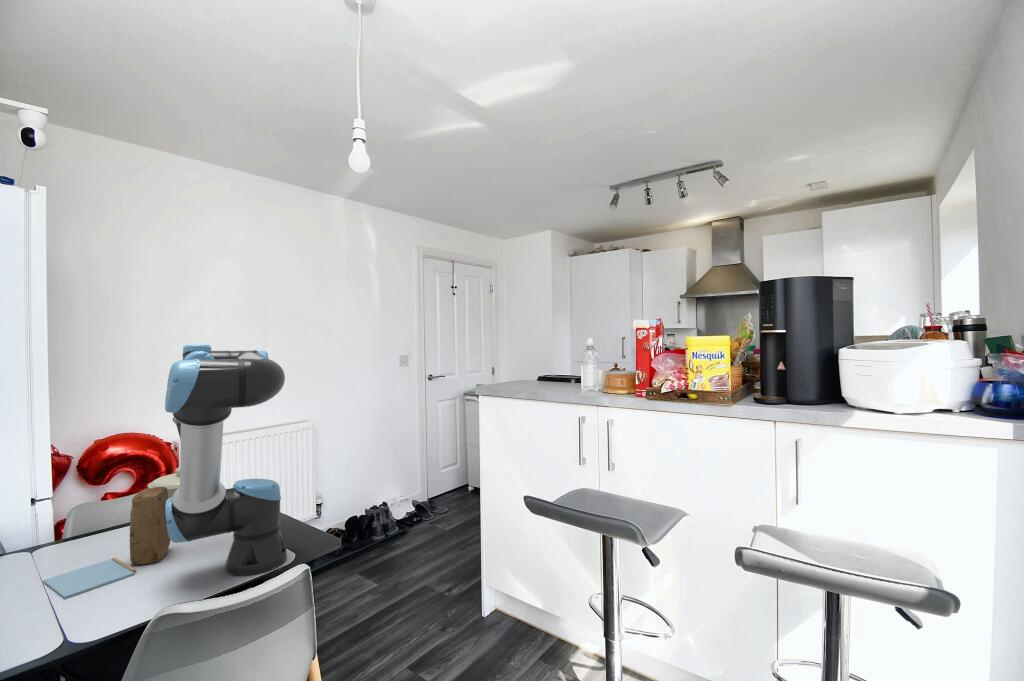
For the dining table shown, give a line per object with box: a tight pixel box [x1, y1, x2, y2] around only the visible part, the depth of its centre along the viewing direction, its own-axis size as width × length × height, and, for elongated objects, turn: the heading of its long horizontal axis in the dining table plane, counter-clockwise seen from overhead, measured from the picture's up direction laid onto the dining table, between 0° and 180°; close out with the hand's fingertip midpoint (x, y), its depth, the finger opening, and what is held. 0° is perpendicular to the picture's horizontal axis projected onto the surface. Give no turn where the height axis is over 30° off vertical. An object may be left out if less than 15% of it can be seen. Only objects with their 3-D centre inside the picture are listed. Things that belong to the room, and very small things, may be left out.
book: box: [42, 557, 137, 600], centre depth 124 cm, size 16×15×1 cm
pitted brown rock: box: [129, 487, 171, 566], centre depth 136 cm, size 11×8×20 cm
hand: (196, 468), depth 146 cm, fingers closed
